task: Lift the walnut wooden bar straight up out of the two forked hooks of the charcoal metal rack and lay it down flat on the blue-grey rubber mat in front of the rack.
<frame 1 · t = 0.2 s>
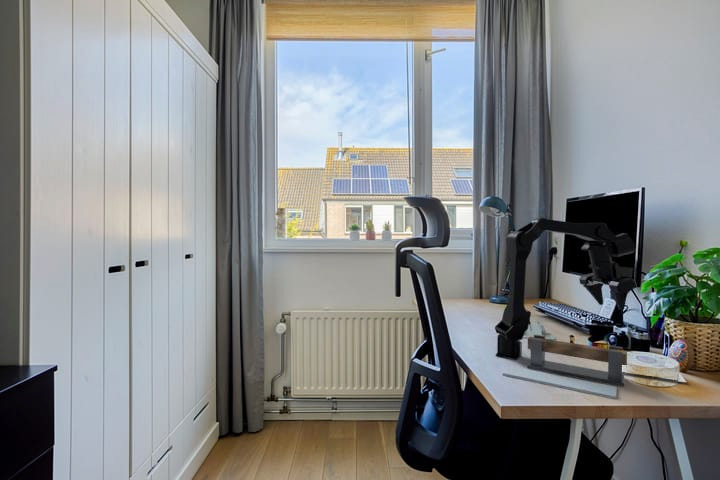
hand: (611, 307, 124), 15 cm above the table, tool pointing down, fingers open, 9 cm apart
blue-grey mat: (557, 381, 101), on the table
touchpad: (648, 376, 106), on the table
walnut bar: (574, 355, 107), point 5 cm above the table, touching hook rack
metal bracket: (530, 336, 148), on the table
hook rack: (574, 373, 107), on the table
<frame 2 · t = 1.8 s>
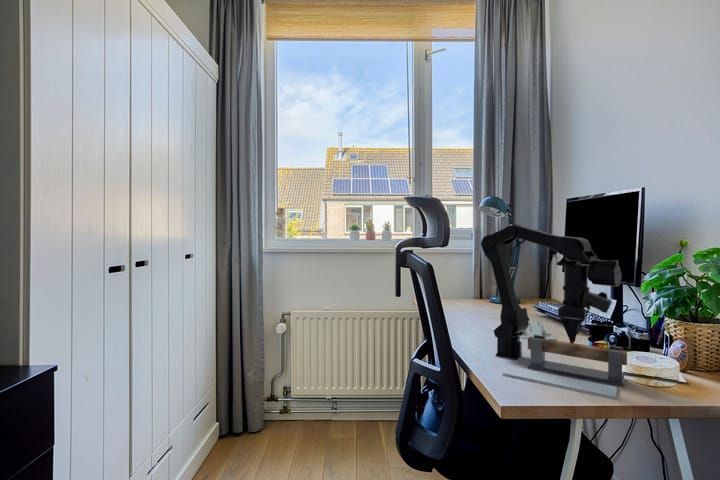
hand: (574, 337, 107), 10 cm above the table, tool pointing down, fingers open, 9 cm apart
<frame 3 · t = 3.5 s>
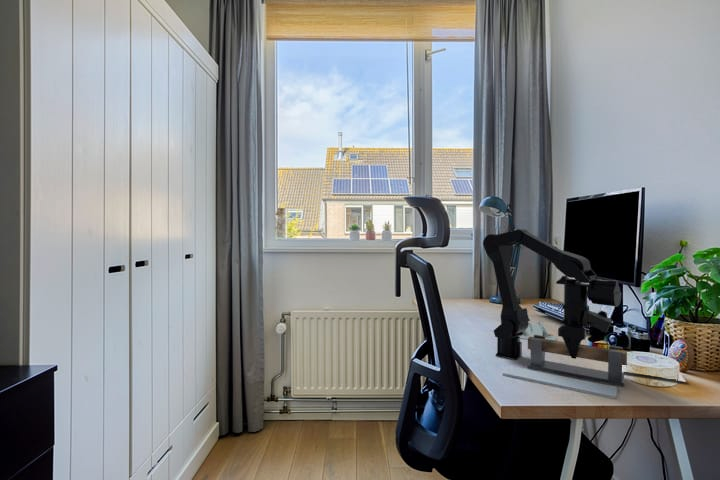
hand: (574, 356, 107), 5 cm above the table, tool pointing down, fingers closed on walnut bar, 3 cm apart
walnut bar: (574, 355, 107), point 5 cm above the table, touching gripper, hook rack
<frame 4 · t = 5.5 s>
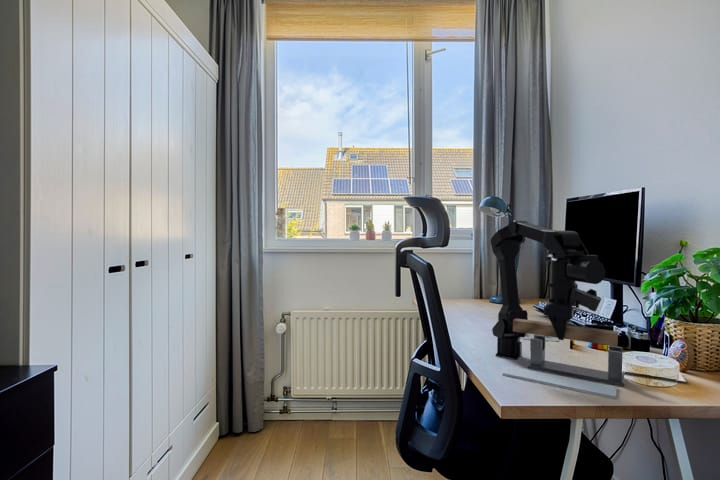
hand: (561, 338, 100), 12 cm above the table, tool pointing down, fingers closed on walnut bar, 3 cm apart
walnut bar: (562, 336, 100), point 12 cm above the table, touching gripper
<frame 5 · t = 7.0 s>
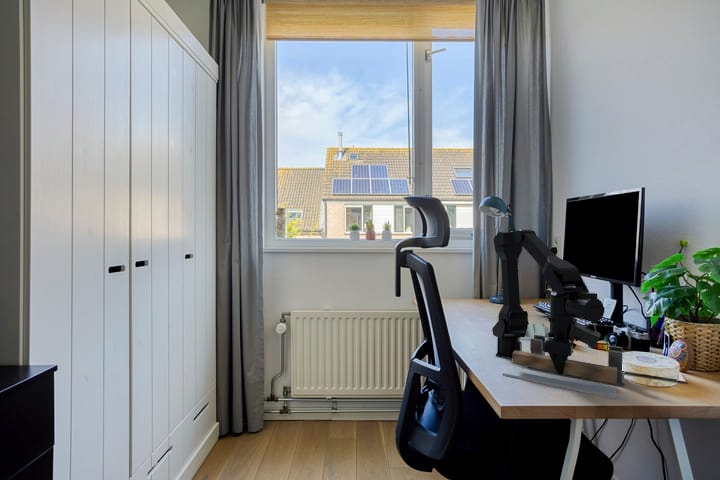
hand: (561, 372, 100), 3 cm above the table, tool pointing down, fingers closed on walnut bar, 3 cm apart
walnut bar: (561, 371, 100), point 3 cm above the table, touching gripper
when the fingers open (2 cm above the table, at t = 7.8 s): walnut bar drops 2 cm, resting on blue-grey mat.
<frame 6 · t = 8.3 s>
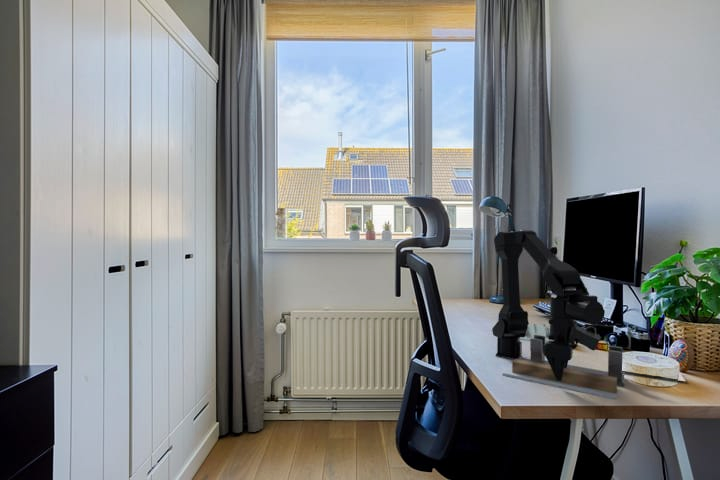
hand: (561, 375, 100), 2 cm above the table, tool pointing down, fingers open, 8 cm apart
walnut bar: (561, 380, 100), point 1 cm above the table, touching blue-grey mat
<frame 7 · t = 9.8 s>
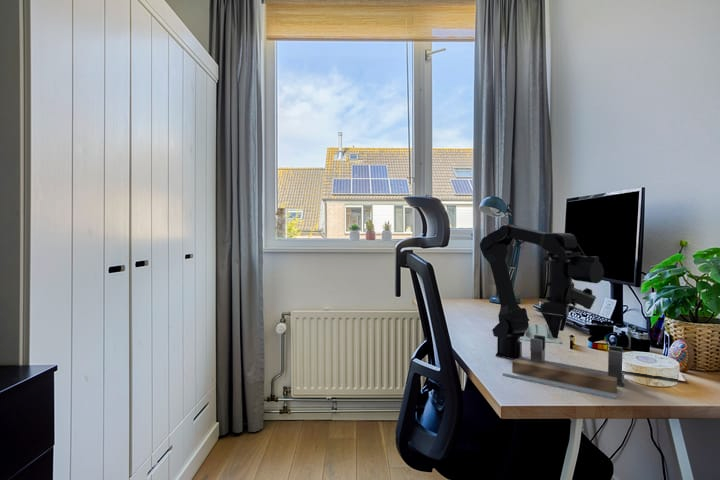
hand: (558, 334, 106), 11 cm above the table, tool pointing down, fingers open, 9 cm apart
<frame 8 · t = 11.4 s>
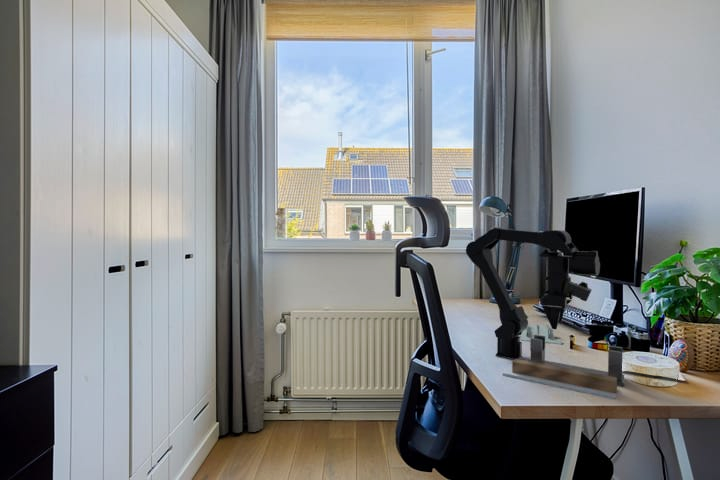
hand: (556, 325, 112), 12 cm above the table, tool pointing down, fingers open, 9 cm apart
at the end: walnut bar inside the target area (0.0 cm from its centre), point 0.6 cm above the table; walnut bar touching blue-grey mat; the gripper is holding nothing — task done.
